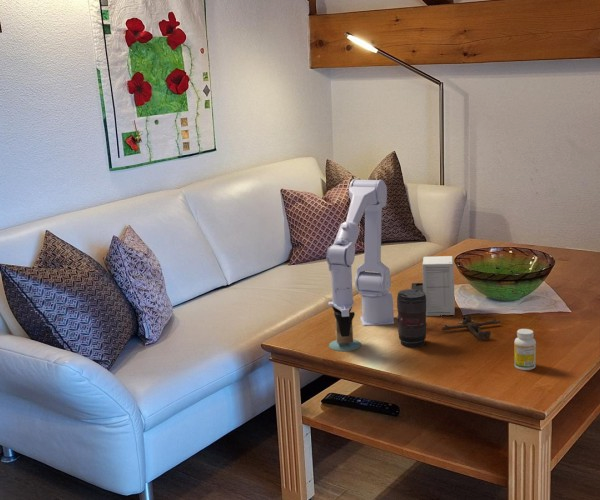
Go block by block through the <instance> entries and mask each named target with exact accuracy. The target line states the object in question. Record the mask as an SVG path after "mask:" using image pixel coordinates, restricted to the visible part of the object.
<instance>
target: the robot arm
mask: <svg viewBox="0 0 600 500" xmlns="http://www.w3.org/2000/svg"><path fill="white" fill-rule="evenodd" d="M387 193H388V187H387V184H386V182H385V181H384V179H357V178H353V179H352V180H351V181H350V182H349V187H348V194H349V200H350V204H349V208H348V210H347V217H346V220H345V221H344V222H342V223H341V224H340V225H339V228H338V231H337V233H336V237H335V239H334V241H333V244H332V245H330V246H328V247H327V251H326V257H325V258H326V259H325V260H326V262H327V265H328V270H329V271H330V276H331V277H330V279H331V281H330V282H331V297H332V298H331V299H332V301H328V307H331V308H332V311H333V315H334V318H335V317H336V319H337V321H338V324H339V328H340V333H341V336H342V337H344V336H349V334H350V327H351V322H352V323H353V319H354V317H355V312H354V311H352V309H353V306H354V304H355V302H354V298H353V297H354V295H353V293H354V291H353V290H354V289H353V273H352V265H353V264H354V262H355V256H356V254H355V253H356V247H355V246H356V243H357V240H358V238H359V235H360V227H359V224H360V221H361V219H362V218H363V215H364V259H363V263H361V264H360V265H359V266H358V267H357V268H356V272H355V273H356V274H355V278H354V287H355V289H356V291H357V292H358V293H359V295H361V313H362V315H360V317H359V319H360V322H361V324H362V326H363V327H367V326H368V327H369V326H383V325H384V326H385V325H394V324H395V320H394V319H395V318H394V316H395V315H394V297H393V294H392V292H389V291H390V290H391V286H392V278H391V271H390V270H391V269H390V268H389V267H388V266H387V265H385V264H384V263H383V262H382V258H381V257H382V255H381V254H382V216H383V215H382V213H383V212H382V211H383V208H384V207H386V206H387V199H388V195H387Z"/></svg>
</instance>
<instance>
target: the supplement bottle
mask: <svg viewBox="0 0 600 500" xmlns="http://www.w3.org/2000/svg"><path fill="white" fill-rule="evenodd" d="M516 336H517V337H516V338H515V339H514V344H513V345H514V346H513V347H514V348H513V349H514V350H513V351H514V354H513V355H514V357H513V361H514V362H513V364H514V365H513V366H514V367H515V369H517V370H521V371H531V370H533V369H535V368H536V365H537V363H536V362H537V357H536V356H537V341H536V339H535V338H534V336H535V335H534V330H532V329H529V328H520V329H518V330H517V331H516Z"/></svg>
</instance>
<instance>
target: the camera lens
mask: <svg viewBox="0 0 600 500" xmlns="http://www.w3.org/2000/svg"><path fill="white" fill-rule="evenodd" d="M396 308H397V309H396V310H397V316H396V323H397V333H398V338H399V340H400V345H402V346H403V347H407V348H419V347H423V346H424V345H425V343H426V338H427V316H426V294H425V292H424V291H421V290H417V289H411V288H408V289H407V288H406V289H401V290H400V291H399V290H398V292H397V297H396Z"/></svg>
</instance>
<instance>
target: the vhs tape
mask: <svg viewBox="0 0 600 500" xmlns="http://www.w3.org/2000/svg"><path fill="white" fill-rule="evenodd" d="M410 289H417V290H421V291H423V282H412V283H411V287H410Z"/></svg>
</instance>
